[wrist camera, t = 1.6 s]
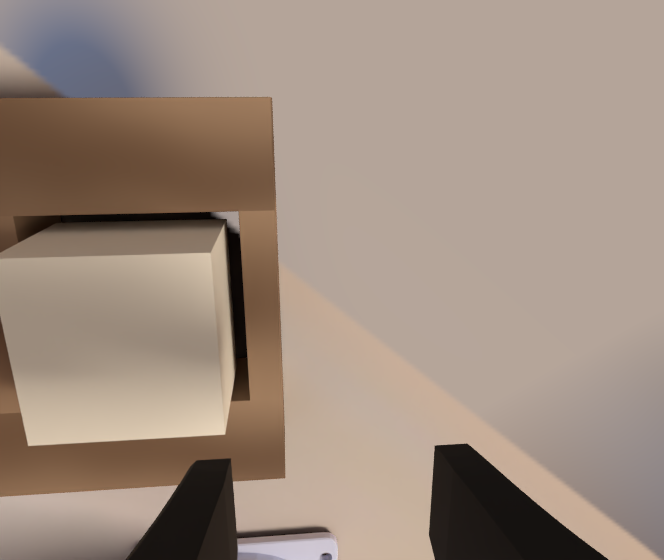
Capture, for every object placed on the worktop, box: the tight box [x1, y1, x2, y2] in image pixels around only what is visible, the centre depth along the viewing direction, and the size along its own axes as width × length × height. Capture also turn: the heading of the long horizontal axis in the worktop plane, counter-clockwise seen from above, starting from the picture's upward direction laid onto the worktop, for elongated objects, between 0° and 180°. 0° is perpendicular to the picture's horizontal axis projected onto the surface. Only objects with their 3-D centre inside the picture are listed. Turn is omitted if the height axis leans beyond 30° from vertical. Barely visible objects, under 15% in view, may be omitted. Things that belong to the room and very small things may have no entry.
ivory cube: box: [0, 219, 236, 446], centre depth 15 cm, size 5×5×4 cm
